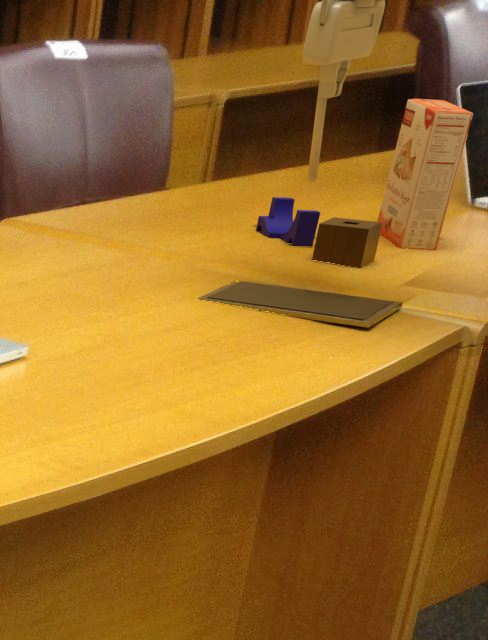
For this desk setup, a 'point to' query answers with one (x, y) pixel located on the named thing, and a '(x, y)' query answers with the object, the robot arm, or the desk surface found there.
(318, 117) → the stylus
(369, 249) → the pen stand
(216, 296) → the tablet
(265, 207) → the desk surface
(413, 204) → the cracker box
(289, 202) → the cable clip
